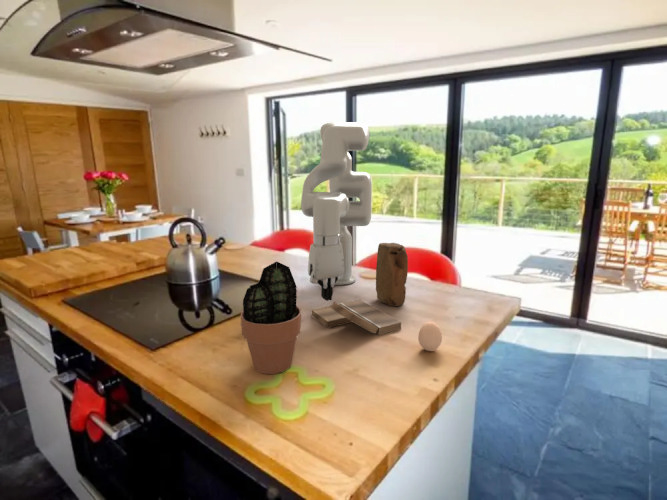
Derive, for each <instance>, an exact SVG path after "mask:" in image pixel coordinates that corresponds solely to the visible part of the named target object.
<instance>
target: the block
mask: <svg viewBox="0 0 667 500" xmlns="http://www.w3.org/2000/svg"><path fill="white" fill-rule="evenodd" d="M375 270H376V271H375V291H376V297H377V298H376V299H377V300H378V301H380V302H381V303H382V304H386V305H388V306H391V307H400V306H402V305H404V304H405V301H406V293H407V292H406V289H407V287H406V283H407V279H408V270H409V259H408V253H407V251H406V248H405V246H404V245H403V244H400V243H396V242H380V243H379V244H378V247H377V253H376V268H375Z"/></svg>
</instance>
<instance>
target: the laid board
mask: <svg viewBox="0 0 667 500" xmlns="http://www.w3.org/2000/svg"><path fill="white" fill-rule="evenodd" d="M339 304H340V305H342V306H343V307H345V308H347V309H348V310H350V311H352V312H353V313H355V314H356V315H358V316H360V317H361V318H363V319H365V320H366V321H368V322H369V323H371V324H373V325H374V326H376V327H378V329H377V331H376V333H377V335H382V334H386V333H390V332H393V331H397V330H401V329H402V322H401V321H400V320H398V319H397V318H395V317H392V316H391V315H389V314H387V313H385V312H383V311H382V310H380V309H378V308H376V307H375V306H373V305H371V304H369V303H367V302H365V301H363V300H361V299H356V300H351V301H347V302H343V303H342V302H341V303H339ZM376 333H375V334H376Z"/></svg>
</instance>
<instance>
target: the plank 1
mask: <svg viewBox="0 0 667 500" xmlns="http://www.w3.org/2000/svg"><path fill="white" fill-rule="evenodd" d="M338 304H339V305H340V303H338ZM331 306H332V305H329V306H323V307H318V308H314V309H311V312H310V313H311V316H312V317H313V318H314V319H315V320H317V321H318V322H319V323H320V324H322V325H324V327H326V328H327V329H328V328H329V329H330V328H333V327H337V326H340V325H345V324H348V323H349V324H350V323H353V322H352V321H350V320H348V319H347V318H345V317H344V316H342V315H341V314H339V313H338V312H336V311H335V310H333V309H332V308H331ZM340 306H342V305H340ZM342 307H343V306H342ZM344 308H345V307H344ZM346 309H347V308H346ZM347 310H348V309H347ZM349 311H350V310H349ZM351 312H352V311H351Z"/></svg>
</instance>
